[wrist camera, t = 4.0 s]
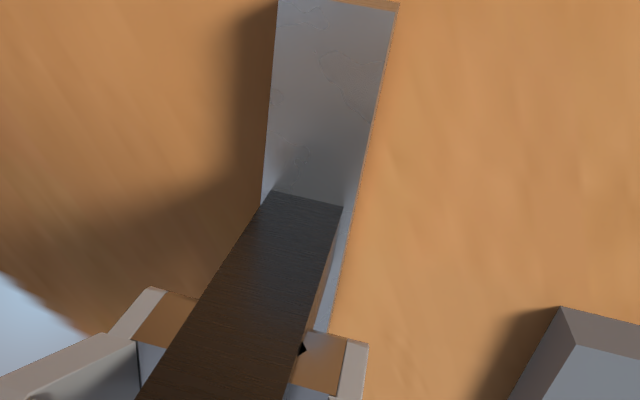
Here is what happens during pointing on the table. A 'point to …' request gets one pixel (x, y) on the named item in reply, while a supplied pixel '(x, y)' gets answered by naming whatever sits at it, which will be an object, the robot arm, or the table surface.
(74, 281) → the table surface
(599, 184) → the table surface
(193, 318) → the upside-down t block
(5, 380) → the robot arm
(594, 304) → the table surface
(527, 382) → the slate tile
